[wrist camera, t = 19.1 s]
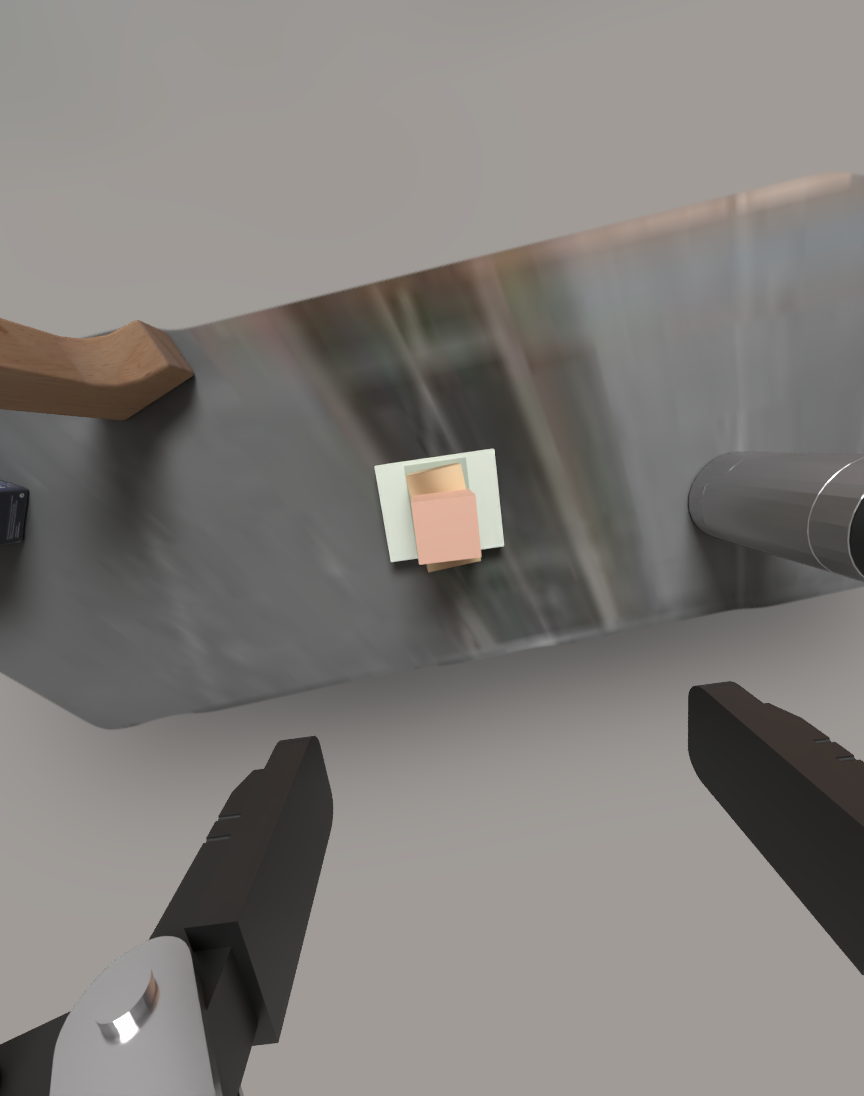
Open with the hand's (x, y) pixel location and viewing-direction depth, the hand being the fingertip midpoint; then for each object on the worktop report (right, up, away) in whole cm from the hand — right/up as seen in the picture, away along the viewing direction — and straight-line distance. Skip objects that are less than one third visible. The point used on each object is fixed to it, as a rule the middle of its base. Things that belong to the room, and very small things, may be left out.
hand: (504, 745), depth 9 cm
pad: (-1, +9, +35) cm, 36 cm away
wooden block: (-30, +21, +32) cm, 48 cm away
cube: (0, +7, +28) cm, 29 cm away
